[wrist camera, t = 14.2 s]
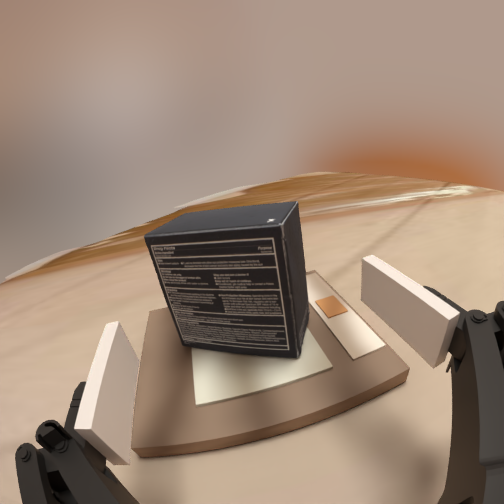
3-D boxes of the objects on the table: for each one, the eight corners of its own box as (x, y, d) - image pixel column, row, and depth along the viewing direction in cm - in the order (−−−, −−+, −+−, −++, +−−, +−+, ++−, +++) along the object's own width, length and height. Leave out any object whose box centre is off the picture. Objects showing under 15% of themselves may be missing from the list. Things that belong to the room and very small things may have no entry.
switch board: (140, 457, 14) (128, 445, 13) (153, 321, 30) (148, 308, 29) (405, 380, 16) (410, 365, 16) (315, 280, 33) (314, 267, 32)
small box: (312, 310, 25) (301, 197, 21) (300, 361, 19) (285, 224, 15) (209, 306, 28) (183, 209, 24) (179, 347, 23) (139, 235, 19)
